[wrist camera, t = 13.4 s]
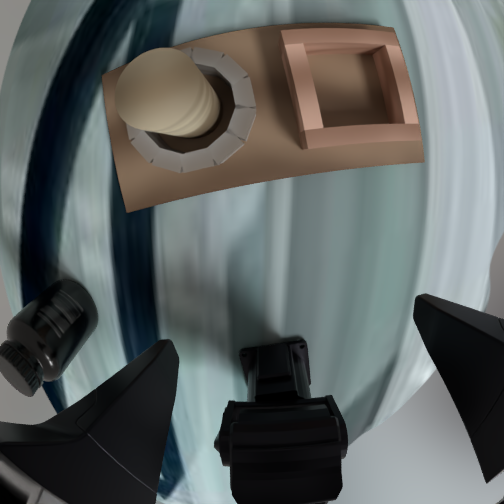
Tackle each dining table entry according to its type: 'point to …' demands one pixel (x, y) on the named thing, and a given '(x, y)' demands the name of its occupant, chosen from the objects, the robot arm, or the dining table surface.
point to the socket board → (277, 112)
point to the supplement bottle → (47, 336)
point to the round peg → (167, 95)
